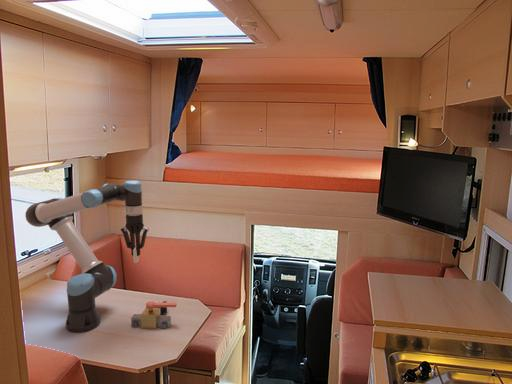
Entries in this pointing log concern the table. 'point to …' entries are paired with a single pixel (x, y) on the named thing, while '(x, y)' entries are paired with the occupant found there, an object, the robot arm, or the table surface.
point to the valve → (151, 319)
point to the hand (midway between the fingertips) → (136, 261)
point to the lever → (160, 304)
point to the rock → (162, 309)
